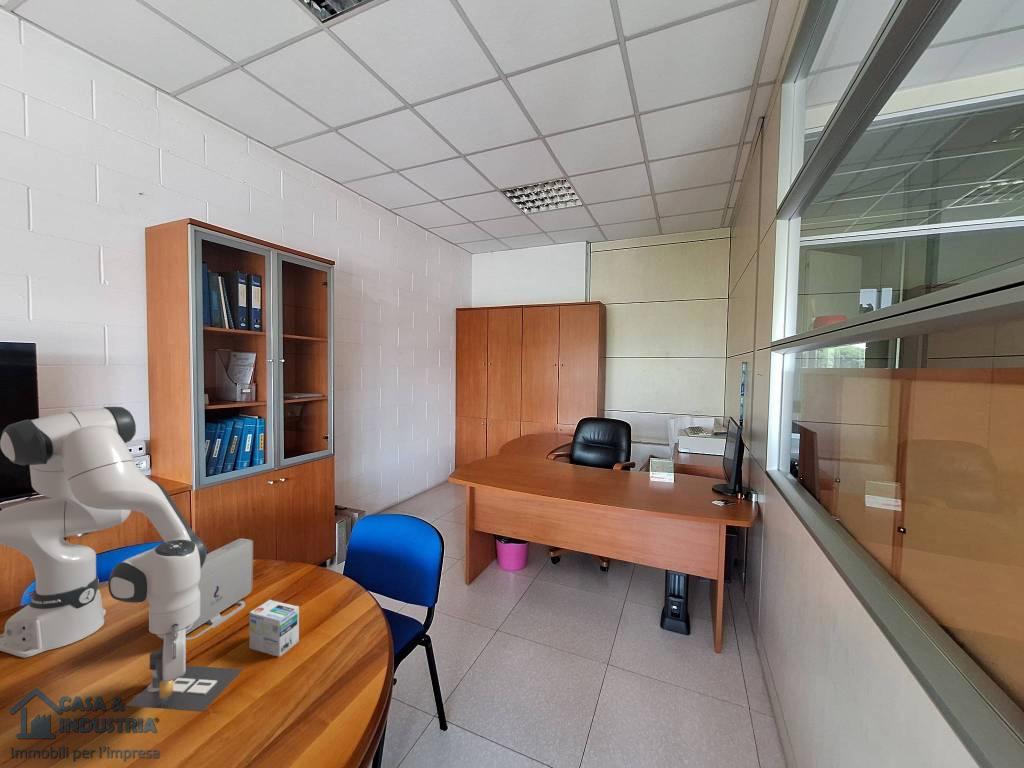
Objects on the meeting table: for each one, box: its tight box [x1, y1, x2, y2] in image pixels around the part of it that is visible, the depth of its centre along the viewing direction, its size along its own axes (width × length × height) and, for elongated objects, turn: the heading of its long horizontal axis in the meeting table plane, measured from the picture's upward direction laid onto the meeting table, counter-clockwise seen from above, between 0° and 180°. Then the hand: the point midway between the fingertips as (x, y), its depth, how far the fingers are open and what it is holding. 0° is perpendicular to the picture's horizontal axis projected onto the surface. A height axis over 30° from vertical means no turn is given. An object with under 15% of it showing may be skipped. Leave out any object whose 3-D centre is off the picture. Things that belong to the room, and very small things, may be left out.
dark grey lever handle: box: [149, 647, 173, 699], centre depth 88 cm, size 15×4×3 cm, turn 47°
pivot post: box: [146, 670, 160, 692], centre depth 92 cm, size 4×4×5 cm
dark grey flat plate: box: [125, 665, 244, 712], centre depth 92 cm, size 18×12×1 cm, turn 88°
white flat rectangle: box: [187, 679, 217, 694], centre depth 91 cm, size 4×4×1 cm
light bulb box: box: [249, 599, 300, 658], centre depth 106 cm, size 11×7×11 cm, turn 74°
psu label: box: [173, 678, 195, 693], centre depth 92 cm, size 4×4×1 cm
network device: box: [159, 537, 254, 641], centre depth 116 cm, size 26×9×20 cm, turn 168°
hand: (175, 673), depth 88 cm, fingers closed
